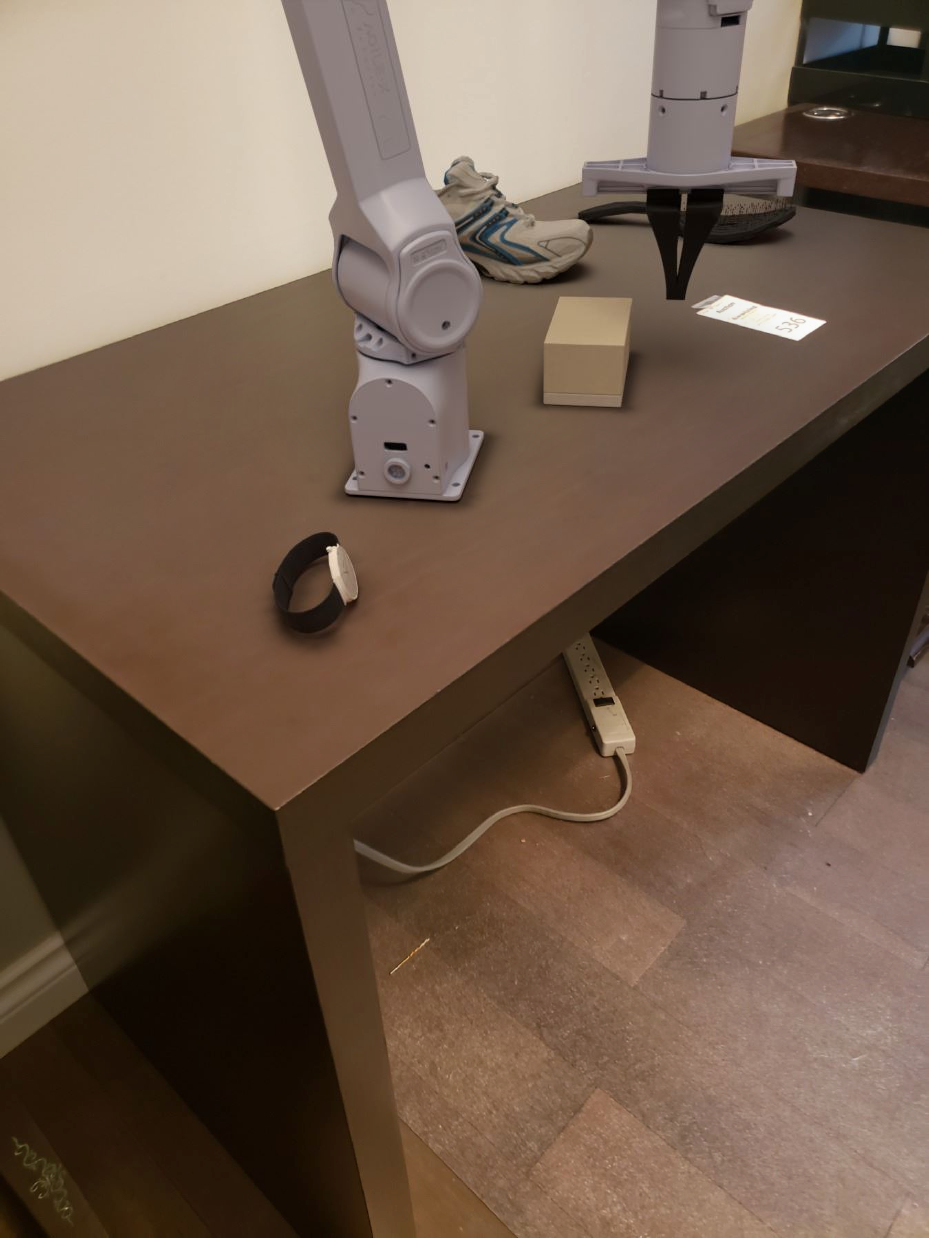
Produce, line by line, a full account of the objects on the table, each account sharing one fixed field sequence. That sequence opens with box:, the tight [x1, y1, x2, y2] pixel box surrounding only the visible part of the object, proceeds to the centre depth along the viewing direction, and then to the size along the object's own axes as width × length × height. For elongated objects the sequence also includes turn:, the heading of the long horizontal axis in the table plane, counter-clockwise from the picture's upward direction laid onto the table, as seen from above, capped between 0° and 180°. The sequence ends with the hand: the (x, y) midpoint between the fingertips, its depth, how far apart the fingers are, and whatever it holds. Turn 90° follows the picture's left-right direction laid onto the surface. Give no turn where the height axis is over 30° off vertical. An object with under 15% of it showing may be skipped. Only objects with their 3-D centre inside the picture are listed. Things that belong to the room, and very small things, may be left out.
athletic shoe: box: [433, 155, 594, 285], centre depth 97 cm, size 10×23×12 cm, turn 78°
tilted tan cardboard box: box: [543, 296, 633, 408], centre depth 75 cm, size 10×5×6 cm
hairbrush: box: [577, 196, 797, 244], centre depth 106 cm, size 8×4×25 cm
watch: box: [271, 531, 359, 635], centre depth 53 cm, size 8×5×4 cm, turn 3°
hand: (675, 295), depth 71 cm, fingers closed
